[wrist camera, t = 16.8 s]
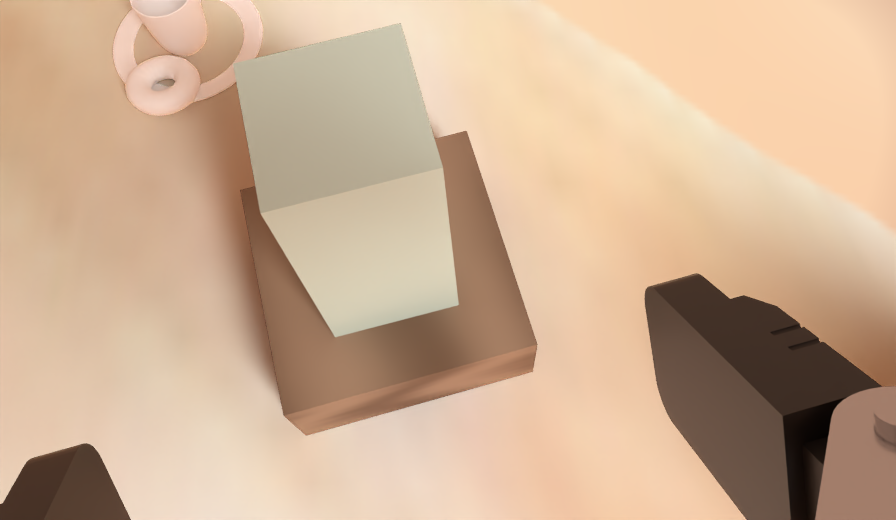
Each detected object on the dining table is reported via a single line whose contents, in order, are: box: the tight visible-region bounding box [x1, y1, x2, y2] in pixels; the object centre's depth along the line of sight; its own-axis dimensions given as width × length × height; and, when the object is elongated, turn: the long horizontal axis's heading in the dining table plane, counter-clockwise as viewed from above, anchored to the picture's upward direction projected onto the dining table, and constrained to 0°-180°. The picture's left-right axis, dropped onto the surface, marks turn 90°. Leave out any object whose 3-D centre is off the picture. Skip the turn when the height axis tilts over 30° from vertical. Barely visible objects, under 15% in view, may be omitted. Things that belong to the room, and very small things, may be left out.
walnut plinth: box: [240, 131, 537, 435], centre depth 34 cm, size 10×10×4 cm
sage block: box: [233, 23, 459, 337], centre depth 27 cm, size 5×5×11 cm
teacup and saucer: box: [113, 0, 263, 116], centre depth 41 cm, size 9×8×4 cm
